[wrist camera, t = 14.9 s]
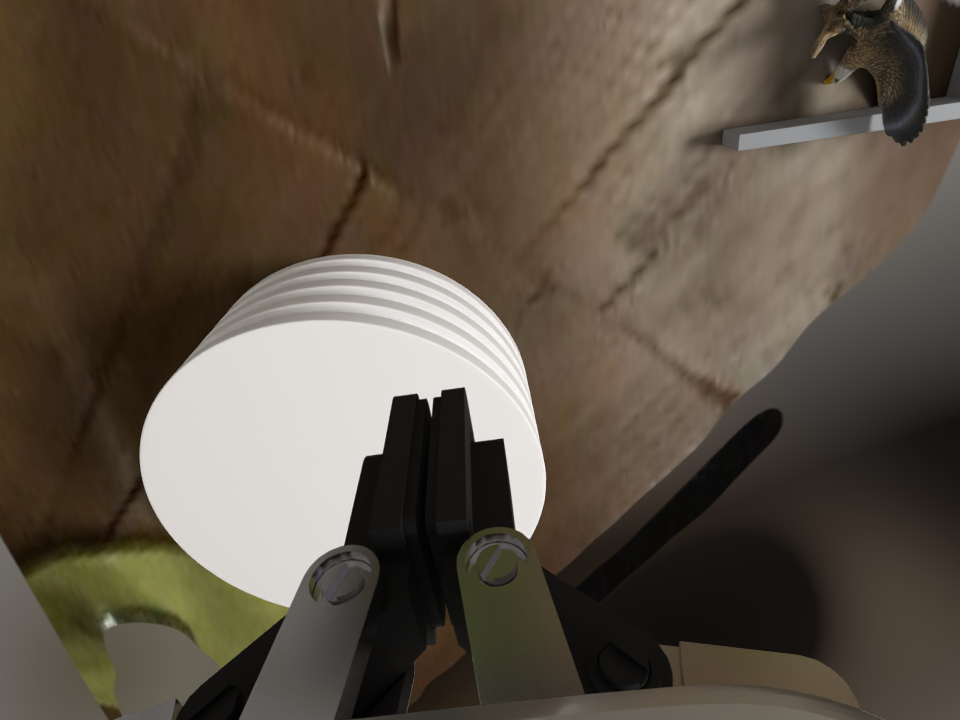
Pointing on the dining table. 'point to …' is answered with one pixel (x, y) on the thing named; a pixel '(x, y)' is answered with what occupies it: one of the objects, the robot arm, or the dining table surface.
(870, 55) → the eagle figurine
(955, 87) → the gray frame
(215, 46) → the dining table surface
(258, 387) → the plate stack
